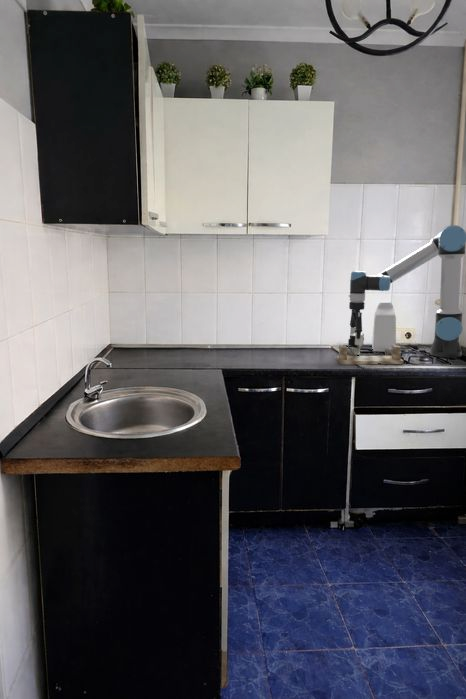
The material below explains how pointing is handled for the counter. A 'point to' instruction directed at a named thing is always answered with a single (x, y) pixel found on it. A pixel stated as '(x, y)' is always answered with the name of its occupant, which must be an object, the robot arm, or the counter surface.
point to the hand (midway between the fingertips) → (355, 342)
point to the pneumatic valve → (352, 343)
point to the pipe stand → (370, 359)
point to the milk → (384, 327)
